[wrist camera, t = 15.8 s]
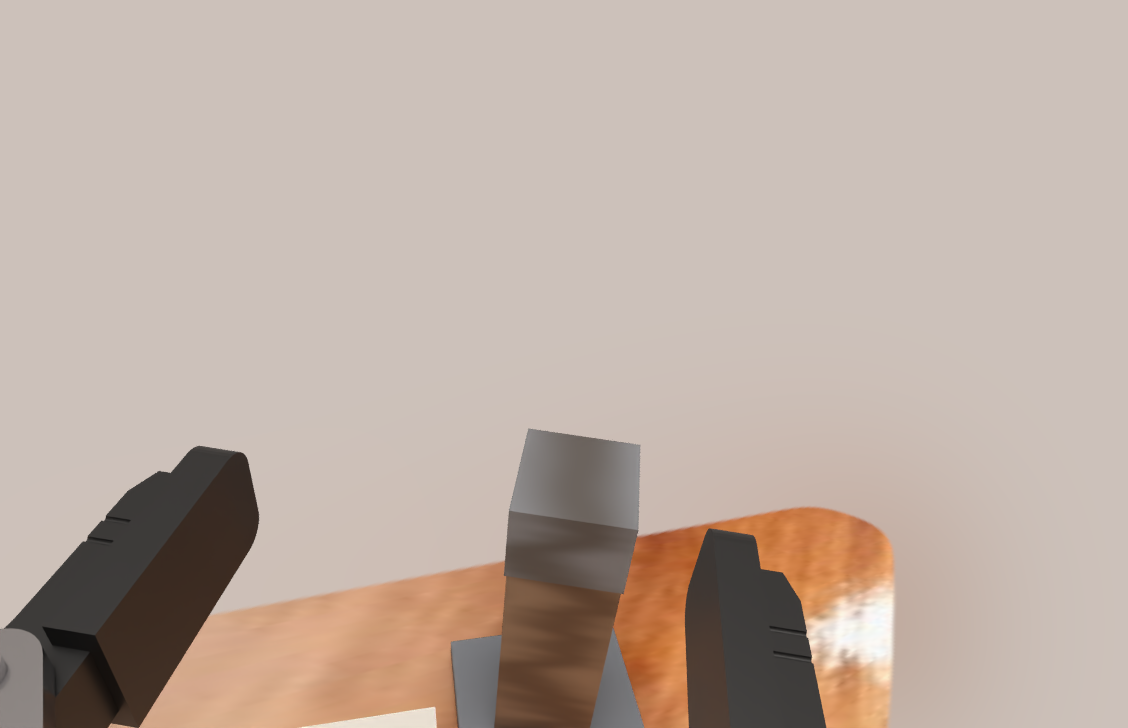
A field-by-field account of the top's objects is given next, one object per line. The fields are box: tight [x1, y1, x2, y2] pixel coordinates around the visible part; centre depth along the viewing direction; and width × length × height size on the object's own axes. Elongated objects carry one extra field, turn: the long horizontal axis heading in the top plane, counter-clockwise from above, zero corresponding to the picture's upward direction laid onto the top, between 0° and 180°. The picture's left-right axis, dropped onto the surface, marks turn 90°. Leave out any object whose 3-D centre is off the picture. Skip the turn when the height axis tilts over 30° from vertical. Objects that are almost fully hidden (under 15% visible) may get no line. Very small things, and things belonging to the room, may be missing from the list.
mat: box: [451, 628, 644, 728], centre depth 40 cm, size 10×8×1 cm
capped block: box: [494, 429, 640, 728], centre depth 34 cm, size 5×5×17 cm
